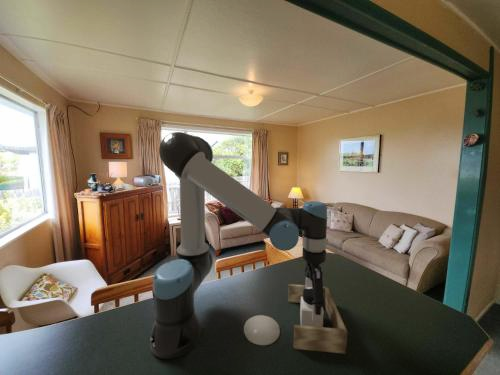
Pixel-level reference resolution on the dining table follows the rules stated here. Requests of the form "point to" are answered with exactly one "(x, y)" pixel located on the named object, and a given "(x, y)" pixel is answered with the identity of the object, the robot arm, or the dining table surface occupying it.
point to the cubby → (319, 336)
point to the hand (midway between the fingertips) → (312, 306)
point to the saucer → (261, 330)
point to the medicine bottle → (308, 309)
